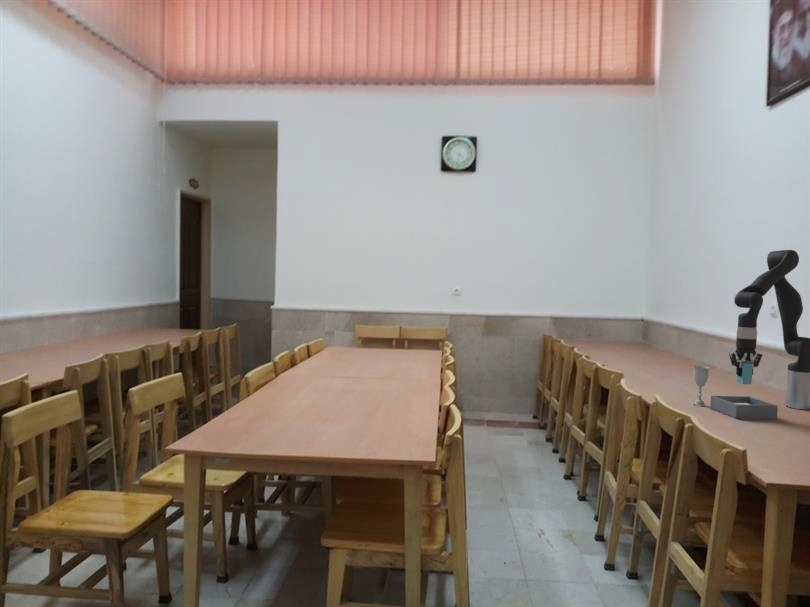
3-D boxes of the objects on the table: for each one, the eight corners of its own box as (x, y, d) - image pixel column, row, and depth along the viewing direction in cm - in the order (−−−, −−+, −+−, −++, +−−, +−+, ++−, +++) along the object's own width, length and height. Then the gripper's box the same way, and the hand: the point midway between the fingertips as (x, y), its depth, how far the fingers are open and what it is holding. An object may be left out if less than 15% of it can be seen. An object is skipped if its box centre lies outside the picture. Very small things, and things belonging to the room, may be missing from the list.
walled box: (748, 409, 248) (749, 396, 248) (777, 419, 230) (777, 405, 230) (710, 408, 247) (710, 395, 247) (735, 418, 229) (736, 405, 229)
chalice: (687, 403, 256) (689, 366, 255) (697, 402, 259) (699, 365, 258) (700, 407, 249) (702, 368, 249) (711, 406, 252) (713, 368, 251)
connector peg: (745, 382, 240) (746, 360, 240) (751, 384, 236) (753, 361, 235) (736, 382, 240) (737, 360, 239) (742, 384, 236) (743, 361, 235)
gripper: (756, 336, 241) (754, 375, 242) (725, 336, 240) (723, 374, 241) (768, 338, 233) (766, 378, 234) (736, 338, 233) (734, 377, 234)
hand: (744, 376), depth 238 cm, fingers closed on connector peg, 4 cm apart
